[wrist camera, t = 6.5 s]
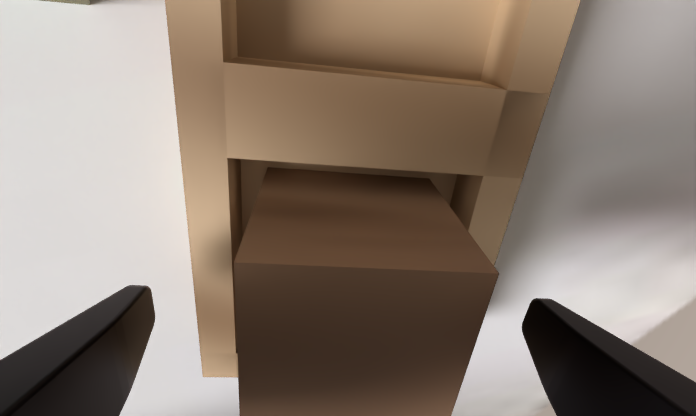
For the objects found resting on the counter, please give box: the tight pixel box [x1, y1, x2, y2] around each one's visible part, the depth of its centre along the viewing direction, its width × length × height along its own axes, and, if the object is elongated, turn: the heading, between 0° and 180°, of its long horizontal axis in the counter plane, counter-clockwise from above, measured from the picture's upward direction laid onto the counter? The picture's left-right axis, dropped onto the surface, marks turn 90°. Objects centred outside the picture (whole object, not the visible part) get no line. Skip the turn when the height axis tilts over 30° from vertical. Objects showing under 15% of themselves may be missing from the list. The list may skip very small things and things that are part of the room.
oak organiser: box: [165, 0, 581, 377], centre depth 9 cm, size 16×8×3 cm, turn 174°
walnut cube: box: [234, 167, 499, 416], centre depth 9 cm, size 4×4×4 cm
